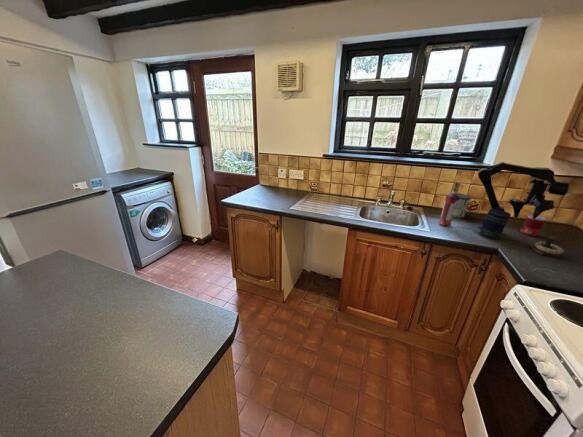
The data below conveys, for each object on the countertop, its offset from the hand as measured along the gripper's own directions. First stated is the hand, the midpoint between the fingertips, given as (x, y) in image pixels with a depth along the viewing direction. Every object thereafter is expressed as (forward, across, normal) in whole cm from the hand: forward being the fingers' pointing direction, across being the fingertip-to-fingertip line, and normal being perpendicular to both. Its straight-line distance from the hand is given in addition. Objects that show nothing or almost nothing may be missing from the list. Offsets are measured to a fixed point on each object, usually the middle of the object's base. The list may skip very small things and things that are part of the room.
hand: (524, 218), depth 137 cm
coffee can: (+12, -20, +29) cm, 37 cm away
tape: (+10, +4, -16) cm, 19 cm away
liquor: (+12, -36, +9) cm, 39 cm away
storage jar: (+12, -16, -2) cm, 20 cm away
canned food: (+12, +11, +6) cm, 17 cm away
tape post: (+12, +3, -16) cm, 20 cm away
